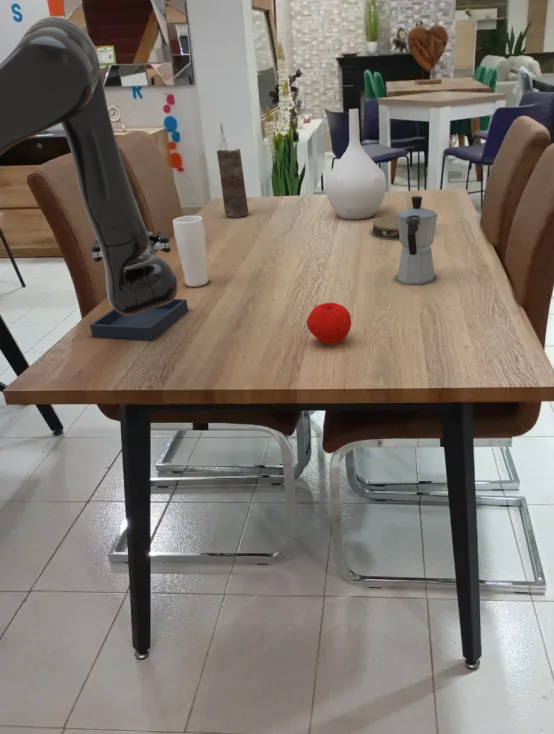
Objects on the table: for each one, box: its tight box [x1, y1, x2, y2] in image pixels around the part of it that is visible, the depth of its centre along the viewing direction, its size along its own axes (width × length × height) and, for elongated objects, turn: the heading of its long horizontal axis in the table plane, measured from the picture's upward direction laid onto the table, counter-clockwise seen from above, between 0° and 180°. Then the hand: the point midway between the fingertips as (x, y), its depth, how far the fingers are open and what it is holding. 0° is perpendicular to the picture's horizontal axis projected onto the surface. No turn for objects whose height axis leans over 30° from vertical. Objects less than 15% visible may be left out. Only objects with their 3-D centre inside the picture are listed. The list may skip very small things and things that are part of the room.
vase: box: [324, 108, 387, 221], centre depth 204 cm, size 18×18×30 cm
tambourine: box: [372, 214, 400, 241], centre depth 191 cm, size 16×16×3 cm
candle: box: [216, 148, 249, 219], centre depth 215 cm, size 8×7×20 cm
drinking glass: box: [172, 215, 209, 288], centre depth 158 cm, size 7×7×15 cm
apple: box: [306, 302, 352, 345], centre depth 125 cm, size 8×8×7 cm
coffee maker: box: [395, 195, 438, 286], centre depth 151 cm, size 15×9×18 cm, turn 165°
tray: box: [89, 298, 189, 341], centre depth 141 cm, size 16×13×2 cm
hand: (128, 237), depth 132 cm, fingers closed on cup, 6 cm apart
